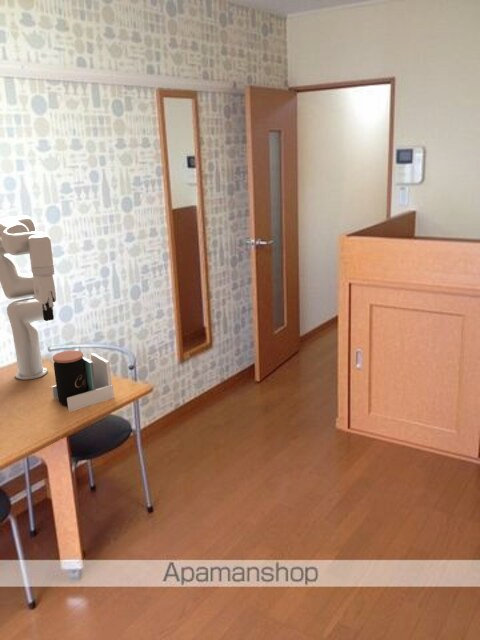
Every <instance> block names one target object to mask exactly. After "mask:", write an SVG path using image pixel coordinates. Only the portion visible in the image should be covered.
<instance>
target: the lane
mask: <svg viewBox="0 0 480 640" xmlns="http://www.w3.org/2000/svg"><path fill="white" fill-rule="evenodd" d="M90 359H91V361H92V362H93V367H94V376H95V385H96V389H95V390H92V391H89V392H85V393H82V394H78V395H75V396H72V397H68V398H67V403H68V407H67V409H68V412H69V413H71V412H73V411H77V410H80V409H84V408H86V407H90V406H92V405H95V404H99V403H103V402H106V401H109V400H112V399H115V392H114V385H113V384H112V375H111V366H110V360H109V361H108V360H107V359H105V358H103V357H102V356H99V355H98V354H97V353H94V352H92V353H90ZM51 392H52V393H51V394H52V399H53V400H57V399H58V394H57V387H56V384H55V385H51Z"/></svg>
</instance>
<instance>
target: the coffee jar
mask: <svg viewBox="0 0 480 640" xmlns="http://www.w3.org/2000/svg"><path fill="white" fill-rule="evenodd" d="M82 357H84V352H83V351H80V350H66V351H65V350H64V351H61V352H58V353H55V354H54V355H53V356H52V361H53V371H54V378H55V385H56V387H57V394H58V400H57V401H58V403H59V404H60V405H61V406H62V407H67V408H68V403H67V398H68V397H72V396H75V395H78V394H82V393H85V392H88V391H87V382H86V374H85V365H84V359H83V358H82Z"/></svg>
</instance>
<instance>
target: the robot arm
mask: <svg viewBox="0 0 480 640" xmlns="http://www.w3.org/2000/svg"><path fill="white" fill-rule="evenodd" d="M51 241H52V239H51V237H50V236H49V235H48V234H47V235H46V233H45V232H43V231H39V230H38V231H37V229H36V223H35V221H34V220H33V218H32V217H30V216H28V215H17V216H10V217H9V216H8V217H3V218H0V285H1V288H2V290H3V293H4V295H5V297H6V298H7V299H9V300H14V301H12V302H10V303H9V304H8V305H7V306H6V313H7V317H8V320H9V325H10V326H11V331H12V336H13V343H14V350H15V356H16V363H17V364H16V365H17V368H18V369H17V371H16V372H15V373H14V377H15V378H16V379H19V380H25V381H27V380H33V379H34V380H35V379H38V378H41V377H43V376H45V375H46V374H47V373H48V368H47V367H46V366H43V361H42V354H41V353H42V352H41V346H40V339H39V333H38V330H37V329H36V328H35V327H34V326H33V325H31V323H33V322H38V321H42V320H44V321H45V322H48V321H53V320H54V319H55V318H54V317H55V316H54V308H53V307H54V303H55V302H57V295H56V287H55V281H54V280H55V279H54V277H53V275H55V266H54V259H53V257H54V256H53V249H52V248H53V247H52V242H51ZM5 254H9V255H11V256H23V255H29V261H30V267H31V272H29V273H21V271H20V269H19V265H18V263H16V262H15V260H14V259H12V258H10V257H9V256H7V255H5ZM29 297H30V298H29Z"/></svg>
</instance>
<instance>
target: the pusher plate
mask: <svg viewBox="0 0 480 640" xmlns="http://www.w3.org/2000/svg"><path fill="white" fill-rule="evenodd" d="M82 358H83V359H84V365H85V374H86V382H87V391H88V392H89V391H92V390H95V389H96V385H95V376H94V367H93V362H92V361H90V360H88V359H89V358H87V357H84V356H83V357H82Z"/></svg>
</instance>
